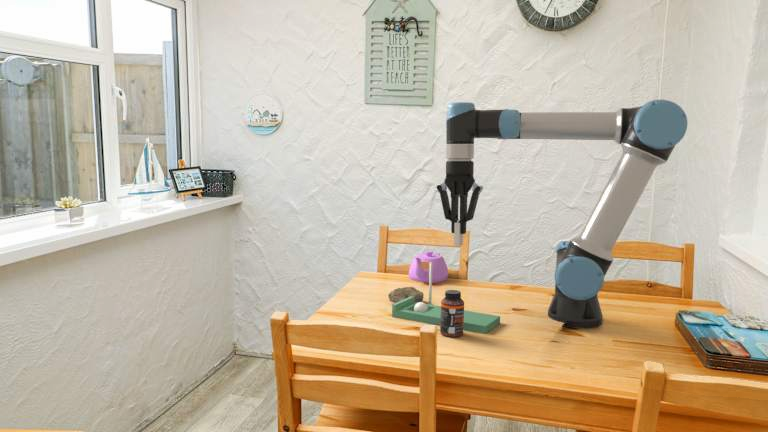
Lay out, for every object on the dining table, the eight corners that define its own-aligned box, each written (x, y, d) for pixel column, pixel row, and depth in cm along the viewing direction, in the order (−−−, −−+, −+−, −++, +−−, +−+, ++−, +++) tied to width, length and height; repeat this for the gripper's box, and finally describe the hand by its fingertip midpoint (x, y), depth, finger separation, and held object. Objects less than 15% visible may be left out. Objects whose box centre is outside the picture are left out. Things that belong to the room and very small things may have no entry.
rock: (384, 303, 180) (384, 288, 179) (408, 297, 188) (408, 283, 187) (403, 308, 175) (403, 293, 174) (426, 302, 183) (427, 288, 182)
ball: (428, 300, 169) (416, 301, 171) (422, 303, 165) (410, 304, 167) (431, 313, 169) (419, 314, 171) (425, 317, 165) (412, 318, 167)
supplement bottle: (457, 339, 148) (458, 295, 147) (436, 335, 151) (437, 292, 150) (466, 333, 153) (468, 290, 152) (446, 329, 156) (447, 287, 155)
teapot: (398, 285, 205) (398, 254, 204) (422, 274, 223) (422, 245, 221) (433, 290, 199) (434, 258, 197) (455, 279, 216) (456, 249, 215)
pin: (436, 309, 175) (437, 262, 173) (432, 312, 172) (433, 264, 171) (422, 307, 177) (423, 260, 176) (417, 309, 175) (419, 262, 173)
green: (499, 323, 162) (500, 310, 162) (485, 333, 153) (485, 320, 153) (410, 307, 177) (410, 296, 176) (392, 316, 167) (392, 304, 167)
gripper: (487, 160, 161) (485, 245, 164) (443, 159, 167) (442, 241, 170) (477, 160, 155) (476, 249, 157) (432, 160, 161) (431, 245, 164)
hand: (458, 245), depth 164 cm, fingers closed
